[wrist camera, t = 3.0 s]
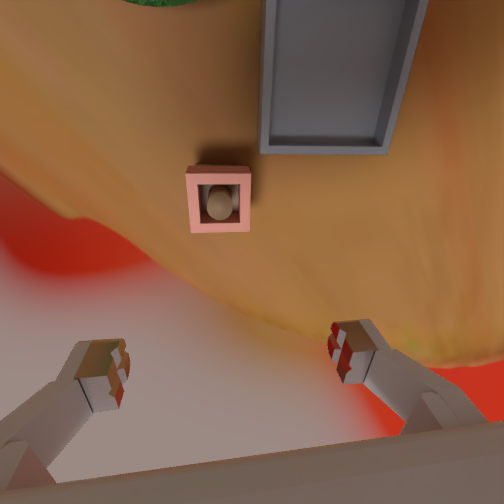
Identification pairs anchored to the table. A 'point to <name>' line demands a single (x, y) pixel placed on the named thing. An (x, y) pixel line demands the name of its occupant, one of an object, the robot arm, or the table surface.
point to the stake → (219, 197)
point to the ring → (218, 175)
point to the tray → (334, 74)
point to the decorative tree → (160, 2)
